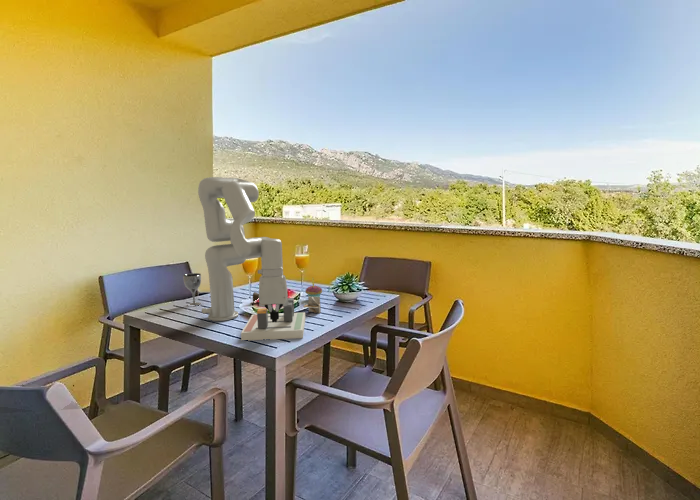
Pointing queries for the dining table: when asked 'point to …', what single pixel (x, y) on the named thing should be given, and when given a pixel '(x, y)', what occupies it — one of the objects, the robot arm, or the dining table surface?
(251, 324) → the switch panel
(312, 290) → the cupcake
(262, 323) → the grey upright block
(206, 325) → the dining table surface
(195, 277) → the wine glass
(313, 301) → the architectural model
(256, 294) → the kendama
